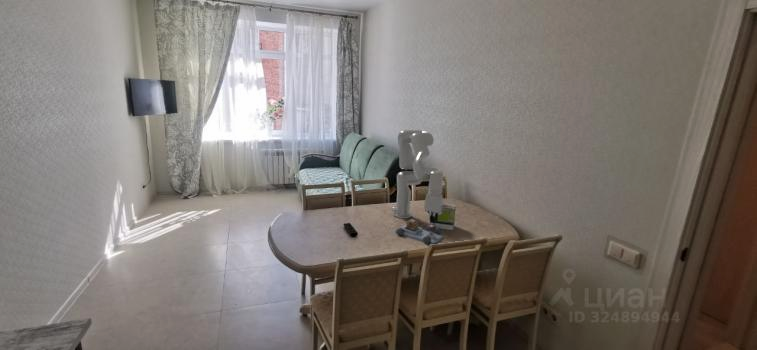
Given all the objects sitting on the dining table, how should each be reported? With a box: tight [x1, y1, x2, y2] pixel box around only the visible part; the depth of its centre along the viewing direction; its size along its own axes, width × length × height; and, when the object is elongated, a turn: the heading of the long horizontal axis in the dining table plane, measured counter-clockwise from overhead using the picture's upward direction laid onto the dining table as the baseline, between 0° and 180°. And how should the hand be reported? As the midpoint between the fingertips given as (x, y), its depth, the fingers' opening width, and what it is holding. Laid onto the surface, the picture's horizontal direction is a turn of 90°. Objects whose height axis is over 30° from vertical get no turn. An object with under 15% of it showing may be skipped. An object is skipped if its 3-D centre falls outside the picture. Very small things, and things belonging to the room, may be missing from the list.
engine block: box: [406, 219, 419, 232], centre depth 218 cm, size 5×5×7 cm
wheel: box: [426, 224, 437, 234], centre depth 211 cm, size 5×5×5 cm
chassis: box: [394, 224, 443, 245], centre depth 216 cm, size 26×16×4 cm, turn 56°
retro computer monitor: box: [429, 202, 457, 231], centre depth 230 cm, size 15×10×15 cm, turn 74°
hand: (432, 222), depth 209 cm, fingers closed
